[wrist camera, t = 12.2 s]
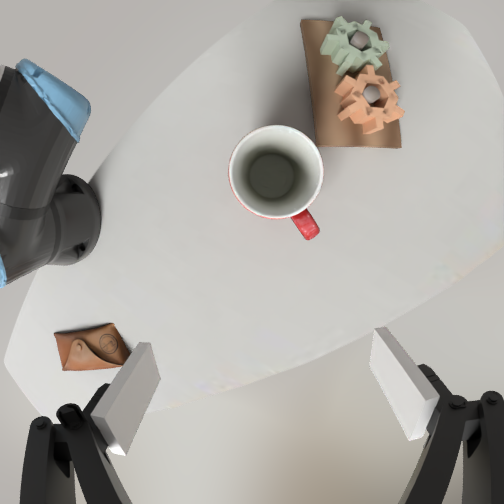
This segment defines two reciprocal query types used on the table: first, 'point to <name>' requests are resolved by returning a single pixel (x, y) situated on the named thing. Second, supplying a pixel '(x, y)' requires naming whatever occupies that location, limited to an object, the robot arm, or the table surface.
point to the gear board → (328, 102)
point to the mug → (278, 175)
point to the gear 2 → (359, 106)
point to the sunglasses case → (92, 349)
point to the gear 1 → (347, 54)
